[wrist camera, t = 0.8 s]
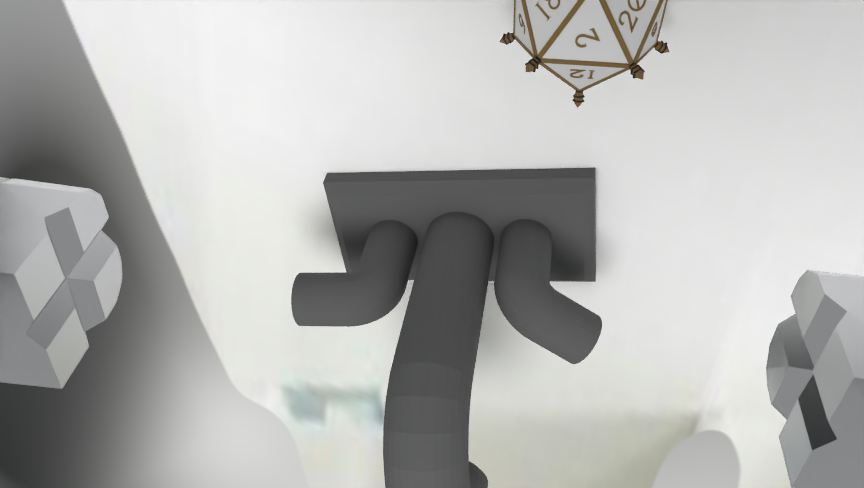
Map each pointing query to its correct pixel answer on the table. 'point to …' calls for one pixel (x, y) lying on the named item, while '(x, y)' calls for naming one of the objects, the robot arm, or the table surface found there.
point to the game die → (587, 37)
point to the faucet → (453, 290)
